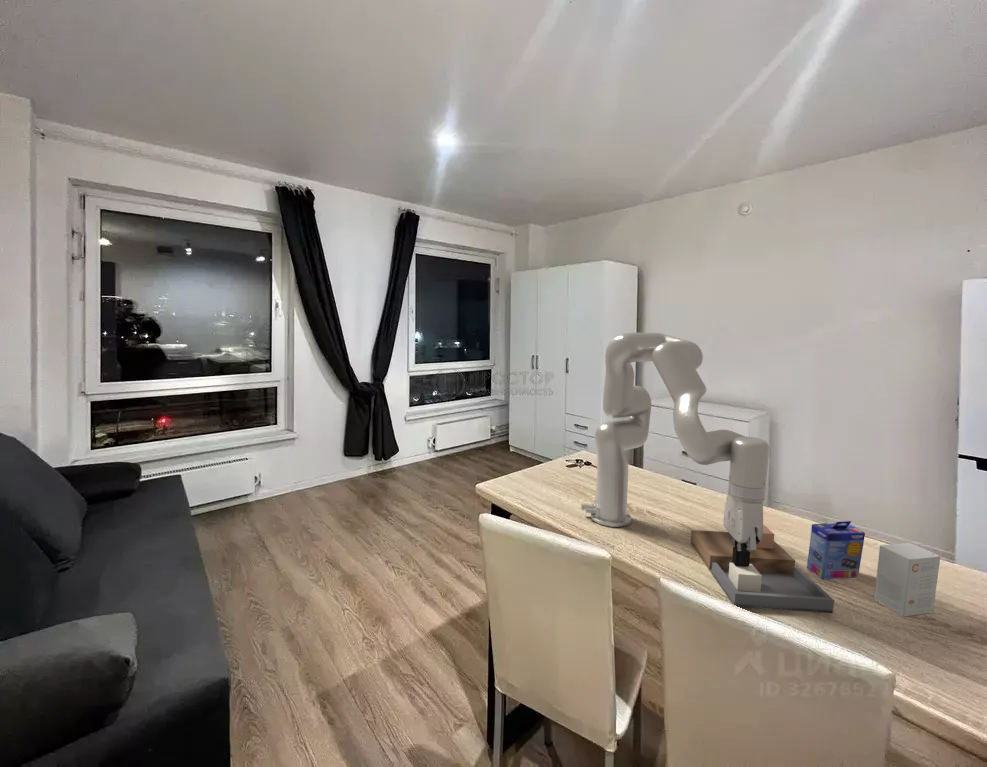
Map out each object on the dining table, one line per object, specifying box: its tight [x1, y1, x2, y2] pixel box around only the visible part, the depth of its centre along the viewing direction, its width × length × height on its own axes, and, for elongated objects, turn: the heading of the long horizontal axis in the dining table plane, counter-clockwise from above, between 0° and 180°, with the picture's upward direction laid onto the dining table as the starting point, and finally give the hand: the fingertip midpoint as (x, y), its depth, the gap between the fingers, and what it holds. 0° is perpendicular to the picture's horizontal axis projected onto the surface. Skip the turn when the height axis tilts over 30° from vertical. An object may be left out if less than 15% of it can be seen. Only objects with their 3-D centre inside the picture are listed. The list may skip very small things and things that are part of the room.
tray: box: [709, 562, 835, 614], centre depth 101 cm, size 20×14×3 cm
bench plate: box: [690, 529, 797, 574], centre depth 115 cm, size 20×14×4 cm
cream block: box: [728, 563, 762, 592], centre depth 102 cm, size 5×5×4 cm
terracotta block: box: [756, 524, 775, 549], centre depth 115 cm, size 5×5×4 cm
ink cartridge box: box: [806, 520, 866, 581], centre depth 108 cm, size 10×6×14 cm, turn 95°
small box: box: [873, 542, 941, 618], centre depth 95 cm, size 8×6×13 cm
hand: (740, 564), depth 104 cm, fingers closed
